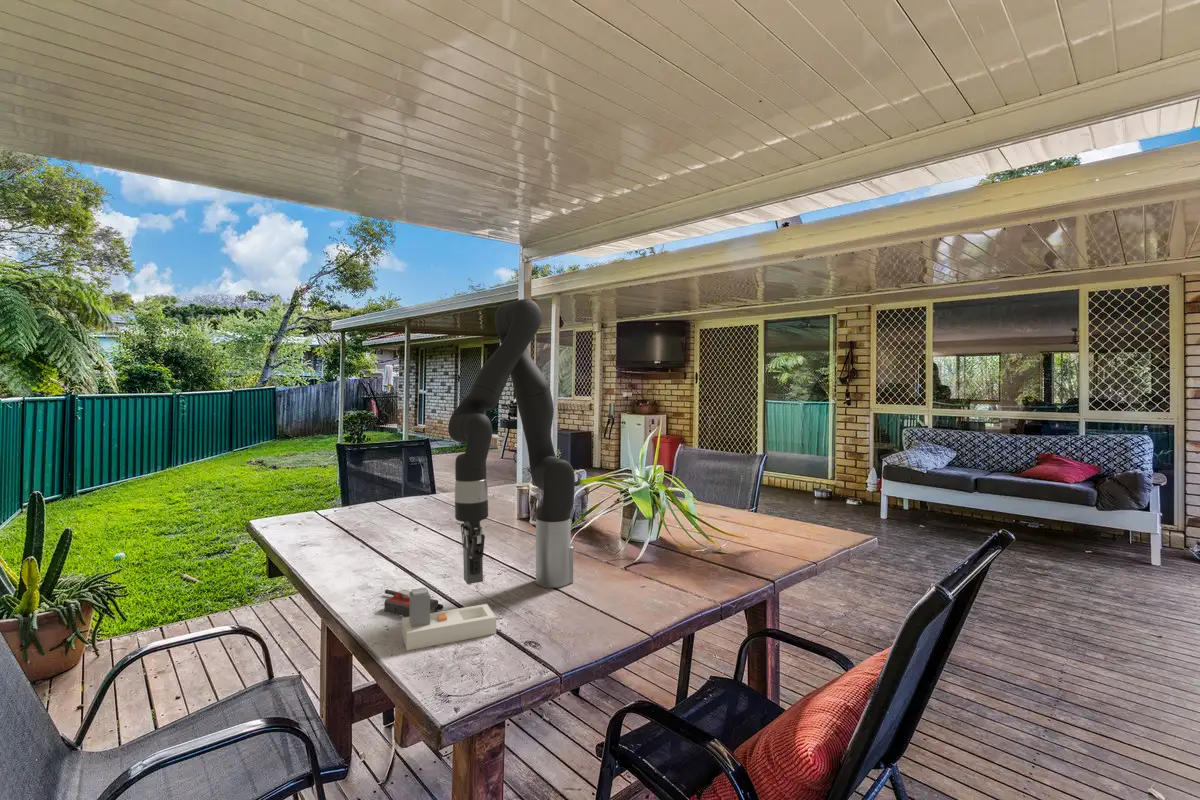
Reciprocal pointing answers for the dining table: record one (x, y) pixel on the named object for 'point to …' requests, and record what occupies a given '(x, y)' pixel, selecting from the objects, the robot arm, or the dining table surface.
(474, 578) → the plug
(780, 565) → the dining table surface
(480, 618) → the power strip
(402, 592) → the walkie-talkie
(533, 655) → the dining table surface
